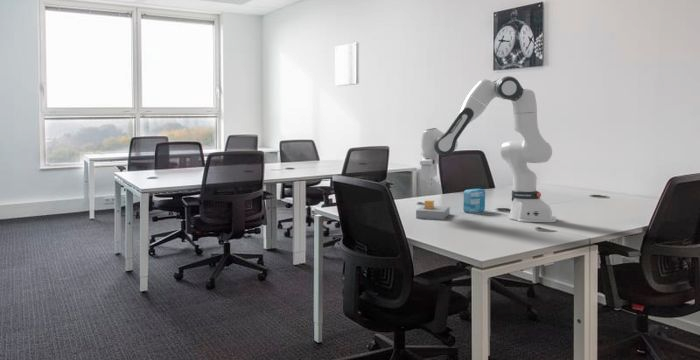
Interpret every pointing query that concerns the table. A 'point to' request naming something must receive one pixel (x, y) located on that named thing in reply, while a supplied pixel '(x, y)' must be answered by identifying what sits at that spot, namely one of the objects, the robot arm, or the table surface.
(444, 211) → the socket box
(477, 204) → the data package
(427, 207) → the plug
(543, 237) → the table surface
